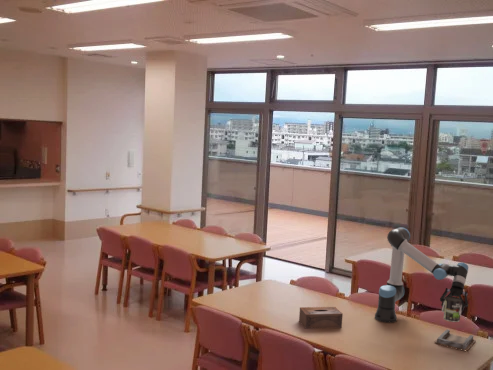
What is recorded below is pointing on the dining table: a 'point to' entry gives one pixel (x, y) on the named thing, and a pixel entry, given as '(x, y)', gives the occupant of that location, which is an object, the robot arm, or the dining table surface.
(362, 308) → the dining table surface
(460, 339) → the rail dock
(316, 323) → the tissue box cover
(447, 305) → the coffee can
